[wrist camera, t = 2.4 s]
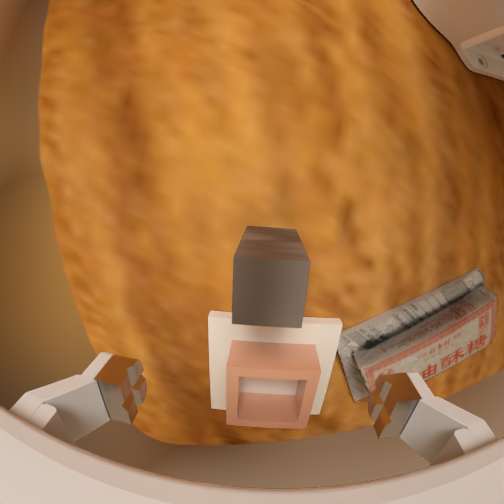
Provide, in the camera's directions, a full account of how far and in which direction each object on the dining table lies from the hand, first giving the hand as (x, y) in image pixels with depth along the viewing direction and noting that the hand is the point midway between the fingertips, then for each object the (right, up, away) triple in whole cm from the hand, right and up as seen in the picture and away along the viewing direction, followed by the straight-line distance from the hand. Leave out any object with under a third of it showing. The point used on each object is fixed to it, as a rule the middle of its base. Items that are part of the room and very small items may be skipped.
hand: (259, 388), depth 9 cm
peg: (+1, +5, +15) cm, 16 cm away
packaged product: (+18, -4, +18) cm, 25 cm away
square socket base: (+2, -7, +19) cm, 20 cm away
